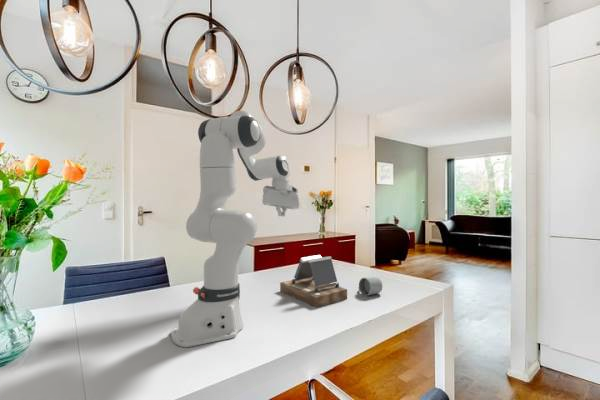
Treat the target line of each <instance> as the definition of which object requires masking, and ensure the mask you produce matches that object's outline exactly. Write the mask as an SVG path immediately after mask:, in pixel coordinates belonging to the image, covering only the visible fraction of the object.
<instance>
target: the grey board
mask: <svg viewBox="0 0 600 400" xmlns="http://www.w3.org/2000/svg"><path fill="white" fill-rule="evenodd" d="M316 258H322V256H321V254H317V255H309V256H304V257H300V259H299V263H298V265H297V268H296V271H295V274H294V276H293V279H296V280H299V279H304V278H308V277H313V275H312V270H311V266H310V263H309V260H311V259H316Z"/></svg>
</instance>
